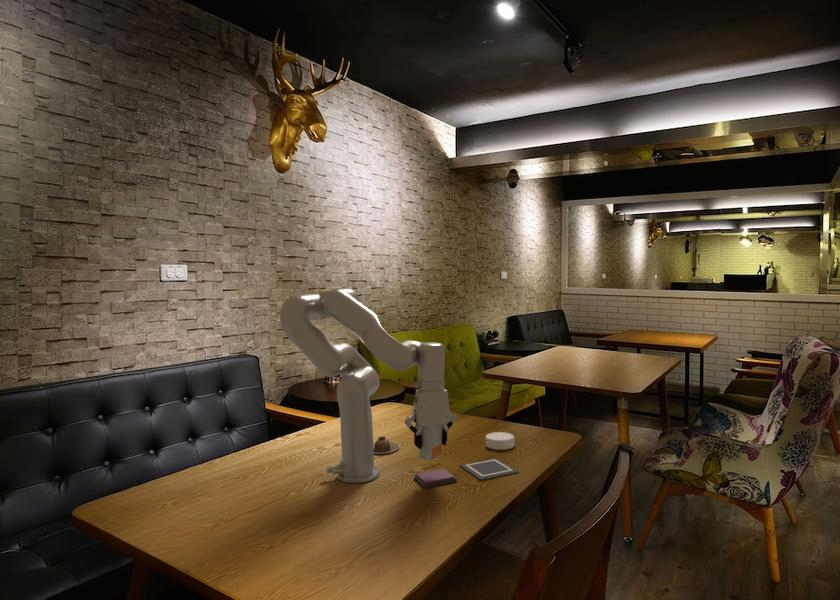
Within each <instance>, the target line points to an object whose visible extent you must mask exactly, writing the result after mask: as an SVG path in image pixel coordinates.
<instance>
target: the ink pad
mask: <svg viewBox="0 0 840 600" xmlns="http://www.w3.org/2000/svg"><path fill="white" fill-rule="evenodd" d="M413 479H414V480H415V481H416V482H417V483H418V484H419V485H420V486H422V487H423V488H424V489H428V488H432V487H438V486H443V485H447V484H452V483H457V482H458V481H457V477H456V476H454V475H453V474H452V473H450V472H449V471H448V470H446V469H445V468H440V469H434V470H430V471H429V470H428V471H423V472H419V473H416V474H415V475H413Z"/></svg>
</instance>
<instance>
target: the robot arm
mask: <svg viewBox="0 0 840 600" xmlns="http://www.w3.org/2000/svg"><path fill="white" fill-rule="evenodd" d="M327 318H333V319H334V320H335V321H337V322H338V323H339V324H341V325H342V326H343V327H344V328H346V329H348V330H349V331H350V332H351V333H353V334H354V335H355V336H356V337H358V339H360V341H361V343H362V344H363V345H364V346H365V347H366V348H367V349H368V351H369V352H370V353H371V354H372V355H373V356H374V357H376V358H377V359H379V360H380V361H381V362H382V363H384V364H385V365H386V366H387V367H390V368H391V369H394V370H396V371H405V370H408V369H409V368H410V367H413V366H415V365H417V367H418V370H417V371H418V375H417V377H418V379H417V382H413V387H414V388H416V390H415V396H414V400H413V411H412V413H411V414H410V415H409V416H408V417H407V418H406V419H405V420H404V424H405V426H406V427H407V428H408V429H409V430H410V431H411V432H412V433H413V443H414V446H415V447H416V448H417V449H418V450H419V449H421V448H422V435H420V433H421V431H422V429H423V427H429V426H430V420H433V426H439V425H442V446H445V447H446V446H447V442H448V432H449V431H450V428H451V427H452V426H453V425H454V423H455V421H456V420H457V418H458V417H457V415H455V414H454V413H453V412H452V411H451V409H450V400H449V393H448V390H447V389H445V358H446V357H445V356H446V355H445V354H446V353H445V351H446V349H445V346H444V344H442V343H440V342H435V341H434V342H432V341H431V342H421V341H417V340H416V341H415V340H411V339H410V340H409V339H407V340H403V341H401V342H400V341H399V340H397V339H396V338H394V337H393V336H391V334H389V333H388V332H387V331H386V330H385V329H384V328H383V327H382V324H381V323H380V319H379V316H378V314H376V313H375V312H374V311H373V310H371V309H370V308H368V307H367V306H366V305H364V304H363V303H362V302H361V301H360V297H359V295H358V294H357V291H354V290H353V289H351V288H348V287H344V288H343V287H342V288H334V289H331V290H326V291H321V292H320V291H319V292H311V293H309V292H308V293H301V294H300V293H299V294H295V295H291V296H289V298H287V299H286V300H285V301H284V302H283V304H282V306H281V308H280V312H279V322H280V323H279V324H280V327H281V329H282V331H283V332H284V334H285V336H286V337H287V338H288V339H289V341H291V343H293V344H294V345H295V347H296V348H297V349H299V350H300V351H301V352H302V354H303V355H304V356H305V357H306V358H307V360H308V361H310V362H311V364H312V365H313V366H314V367H315V368H316V369H317V370H318V371H319V372H320V373H321V374H322V375H323V376H325V377H327V378H333V377H337V376H338V375H340V376H341V378H340V380H339V381H338V383H337V386H336V398H337V402H338V407H339V419H340V435H341V436H340V439H341V441H340V444H341V459H340V460H339V463H336V465H330V466H329V465H328V466H326V473H327V474H331V473H332V475H337V479H338V480H340V482H344V483H349V484H359V483H366V482H371V481H373V480H375V479H377V478H378V477H379V475H380V473H381V472H380V468H378V467H377V466H376V465H375V454H374V452H375V450H374V448H373V443H374V432H373V431H374V430H373V426H374V425H373V412H372V407H371V403H370V402H371V401H370V397H371V396H373V395H374V394H375V393H376V392H377V391H378V389H379V388H380V377H379V373H378V372H377V371H376V370H375V368H374V367H373V366H372V365H371V364H370V363H369V362H368V361H367V360H366V359H365V358H364V356H363V355H361V354H360V352H358V350H357V349H356V348H354V347H353V346H352V345H350V344H349V343H346V342H344V341H343V342H342V341H341V342H333V341H332V340H331V339H329V338H328V336H326V334H324V332H323V331H322V330H320V329H319V328H318V327H316V326H315V325H314V324H312V322H311V321H316V320H321V319H327ZM412 423H414V424H415V425H413V424H412Z"/></svg>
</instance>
